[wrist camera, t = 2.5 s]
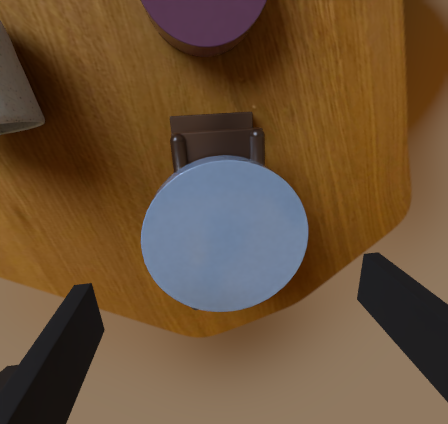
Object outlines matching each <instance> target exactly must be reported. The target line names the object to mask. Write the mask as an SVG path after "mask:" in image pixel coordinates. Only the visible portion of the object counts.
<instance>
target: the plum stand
mask: <svg viewBox="0 0 448 424" xmlns="http://www.w3.org/2000/svg"><path fill="white" fill-rule="evenodd" d="M266 1H267V0H141V2H142V4H143V6H144V8H145V10H146V12H147V14H148V16H149V18H150V20H151V22H152V24H153V25H154V27H155V28H156V30H157V31H158V32H159V34H160V35H161V36H162V37H163V38H164V39H165V40H166V41H167V42H168V43H169V44H171V45H172V46H173V47H175V48H176V49H178V50H180V51H182V52H184V53H187V54H190V55H193V56H199V57H210V56H216V55H220V54H223V53H225V52H227V51H229V50H231V49H232V48H234V47H235V46H236V45H237V44H239V43H240V42H241V41H242V40H243V39H244V37H245V36H246V35H247V34H248V32H249V31H250V29H251V28H252V26H253V25H254V23H255V22H256V20H257V19H258V17H259V15H260V14H261V12H262V10H263V8H264V6H265V4H266Z"/></svg>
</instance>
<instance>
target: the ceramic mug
mask: <svg viewBox="0 0 448 424" xmlns="http://www.w3.org/2000/svg"><path fill="white" fill-rule="evenodd" d="M44 123H45V118H44V116H43V114H42V111H41V109H40V107H39V105H38V103H37V100H36V98H35V96H34V93H33V91H32V89H31V86H30V84H29V82H28V79H27V77H26V75H25V73H24V71H23V68H22V66H21V64H20V62H19V60H18V57H17V55H16V52H15V50H14V47H13V44H12V42H11V40H10V38H9V36H8V34H7V32H6V30H5V28H4V26H3V24H2V22H1V21H0V135H2V134H7V133H14V132H19V131H23V130H28V129H31V128H35V127H38V126H41V125H43V124H44Z"/></svg>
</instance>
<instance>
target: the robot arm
mask: <svg viewBox="0 0 448 424" xmlns="http://www.w3.org/2000/svg"><path fill="white" fill-rule="evenodd" d="M357 300H358V301H359V302H360V303H361V304H362V305H363V307H364V308H365V309H366V310H367V311H368V312H369V313H370V315H372V317H373V318H374V319H375V320H376V321H377V322H378V323H379V325H380V326H381V327H382V328H383V329H384V330H385V332H386V333H387V334H388V335H389V336H390V337H391V338H392V339H393V341H394V342H395V343H396V344H397V345H398V346H399V347H400V349H401V350H402V351H403V352H404V353H405V354H406V355H407V357H409V359H410V360H411V361H412V362H413V363H414V364H415V365H416V367H417V368H418V369H419V370H420V371H421V372H422V374H423V375H424V376H425V377H426V378H427V379H428V380H429V381H430V383H431V384H432V385H433V386H434V387H435V388H436V389H437V390H438V392H439V393H440V394H441V395H442V396H443V397H444V398H445V400H446V401H447V402H448V304H446V303H445V302H443V301H442V300H441V299H440V298H438V297H437V296H436V295H434V294H433V293H431V292H430V291H429V290H428V289H426V288H425V287H424V286H422V285H421V284H420V283H418V282H417V281H416V280H414V279H413V278H412V277H410V276H409V275H408V274H406V273H405V272H404V271H402V270H401V269H400V268H398V267H397V266H396V265H394V264H393V263H392V262H390V261H389V260H388V259H386V258H385V257H384V256H382V255H381V254H380V253H369V254H364V256H363V263H362V269H361V276H360V283H359V289H358V297H357ZM103 332H104V327H103V322H102V319H101V315H100V312H99V308H98V304H97V301H96V297H95V293H94V290H93V286H92V283H89V284H80V285H74V286H73V288H72V289H71V291H70V292H69V293H68V295H67V296H66V298H65V299H64V301H63V302H62V304H61V305H60V306H59V308H58V309H57V311H56V312H55V314H54V315H53V317H52V318H51V319H50V321H49V322H48V324H47V325H46V327H45V328H44V329H43V331H42V332H41V334H40V335H39V337H38V338H37V340H36V341H35V342H34V344H33V345H32V347H31V348H30V350H29V351H28V352H27V354H26V355H25V357H24V358H23V360H22V361H21V362H20V364H19V365H14V366H7V367H6V368H5V369H3V370H2V371H1V372H0V424H66V423H67V420H68V418H69V415H70V413H71V410H72V408H73V406H74V403H75V401H76V398H77V396H78V393H79V391H80V388H81V386H82V383H83V381H84V379H85V376H86V374H87V371H88V369H89V366H90V364H91V362H92V359H93V357H94V354H95V352H96V350H97V347H98V345H99V342H100V340H101V337H102V335H103Z"/></svg>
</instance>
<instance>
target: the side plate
mask: <svg viewBox="0 0 448 424" xmlns="http://www.w3.org/2000/svg"><path fill="white" fill-rule="evenodd" d="M307 242H308V222H307V216H306V213H305V210H304V207H303V205H302V203H301V201H300V198H299V197H298V195H297V194H296V192H295V191H294V190H293V188H292V187H291V186H290V185H289V184H288V183H287V182H286V181H285V180H284V179H282V178H281V177H280V176H279V175H277V174H276V173H275V172H273V171H272V170H271V169H269V168H268V167H266V166H264V165H263V164H261V163H258V162H256V161H254V160H251V159H248V158H244V157H239V156H231V155H219V156H212V157H207V158H203V159H199V160H197V161H194V162H192V163H190V164H187V165H186V166H184V167H182V168H181V169H179V170H177V171H176V172H175V173H174V174H172V175H171V176H170V177H169V178H168V179H167V180H166V181H165V182H164V183H163V184H162V186H161V187H160V188H159V190H158V191H157V193H156V194H155V196H154V198H153V200H152V202H151V204H150V206H149V208H148V210H147V213H146V215H145V218H144V221H143V226H142V231H141V247H142V254H143V258H144V262H145V264H146V266H147V269H148V271H149V273H150V274H151V276H152V278H153V279H154V281H155V282H156V283H157V284H158V285H159V287H160V288H161V289H163V290H164V291H165V292H166V293H167V294H168V295H170V296H171V297H172V298H174V299H175V300H177V301H179V302H181V303H183V304H185V305H187V306H190V307H193V308H196V309H200V310H205V311H213V312H227V311H235V310H241V309H245V308H248V307H251V306H254V305H256V304H259V303H261V302H263V301H265V300H267V299H268V298H270V297H271V296H273V295H274V294H276V293H277V292H278V291H280V290H281V289H282V288H283V287H284V286H285V285H286V284H287V283H288V282H289V281H290V280H291V278H292V277H293V276H294V274H295V273H296V271H297V270H298V268H299V266H300V265H301V262H302V260H303V258H304V255H305V251H306V248H307Z"/></svg>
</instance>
